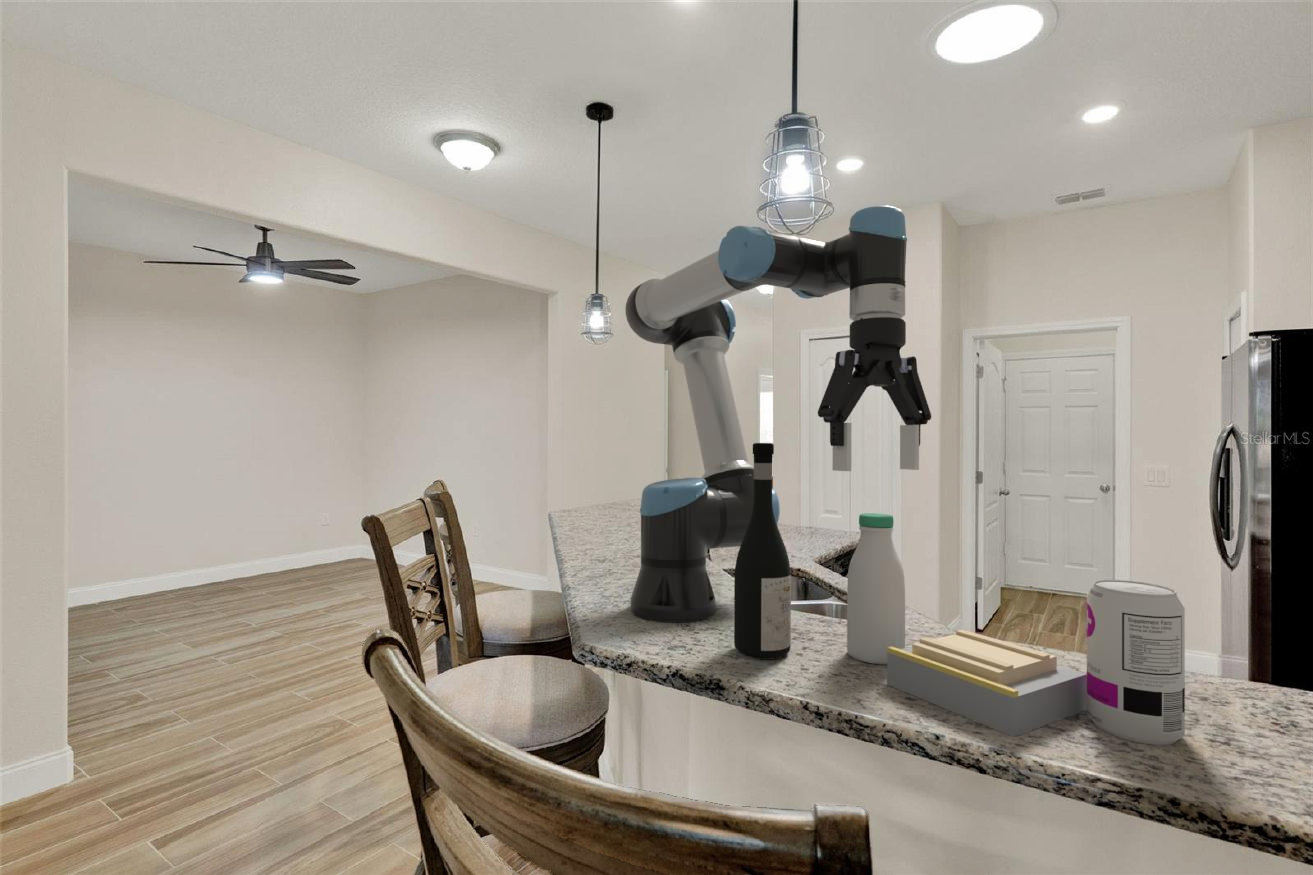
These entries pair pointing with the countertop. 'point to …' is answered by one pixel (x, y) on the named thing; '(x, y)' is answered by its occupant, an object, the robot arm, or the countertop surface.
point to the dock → (988, 681)
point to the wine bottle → (762, 574)
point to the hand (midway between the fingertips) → (876, 470)
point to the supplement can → (1136, 661)
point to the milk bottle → (875, 593)
